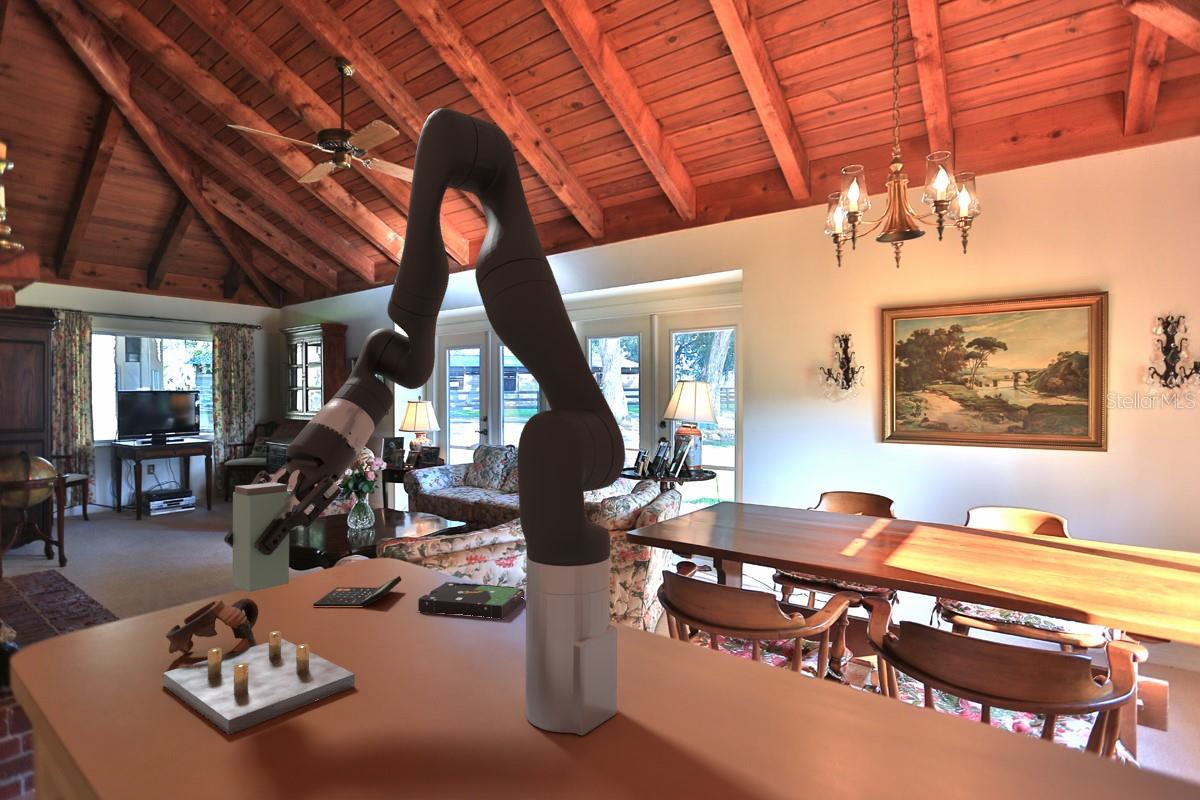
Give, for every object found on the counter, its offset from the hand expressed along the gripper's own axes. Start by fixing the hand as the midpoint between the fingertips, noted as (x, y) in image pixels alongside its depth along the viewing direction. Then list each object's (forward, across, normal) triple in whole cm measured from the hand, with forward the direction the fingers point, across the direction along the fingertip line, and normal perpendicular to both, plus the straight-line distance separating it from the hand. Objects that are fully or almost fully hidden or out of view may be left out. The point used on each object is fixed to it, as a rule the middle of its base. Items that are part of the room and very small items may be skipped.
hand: (246, 547), depth 74 cm
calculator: (-9, -16, +34) cm, 39 cm away
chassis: (+11, 0, +13) cm, 17 cm away
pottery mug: (+8, -14, +16) cm, 23 cm away
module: (+2, 0, +5) cm, 5 cm away
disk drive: (-14, +3, +39) cm, 41 cm away
